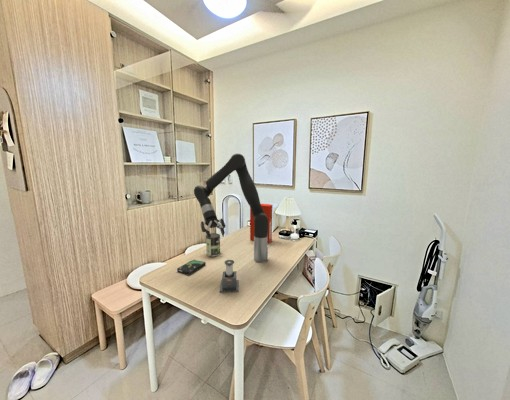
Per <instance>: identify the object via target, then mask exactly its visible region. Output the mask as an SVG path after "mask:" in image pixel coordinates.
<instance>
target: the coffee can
mask: <svg viewBox="0 0 510 400" xmlns="http://www.w3.org/2000/svg"><path fill="white" fill-rule="evenodd" d="M210 235H211V237H210V238H209V237H207V234H206V235H205V241H206V242H205V243H206V244H205V245H206V250H205V251H206V256H208V257H217V256H220V255H221V233H214V232H213V233H211V232H210Z"/></svg>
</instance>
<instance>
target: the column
mask: <svg viewBox="0 0 510 400" xmlns="http://www.w3.org/2000/svg"><path fill="white" fill-rule="evenodd" d="M234 264H235V261H234V260H233V259H226V260H225V261H224V265H225V272H226V277H233V270H234V267H233V265H234Z"/></svg>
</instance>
